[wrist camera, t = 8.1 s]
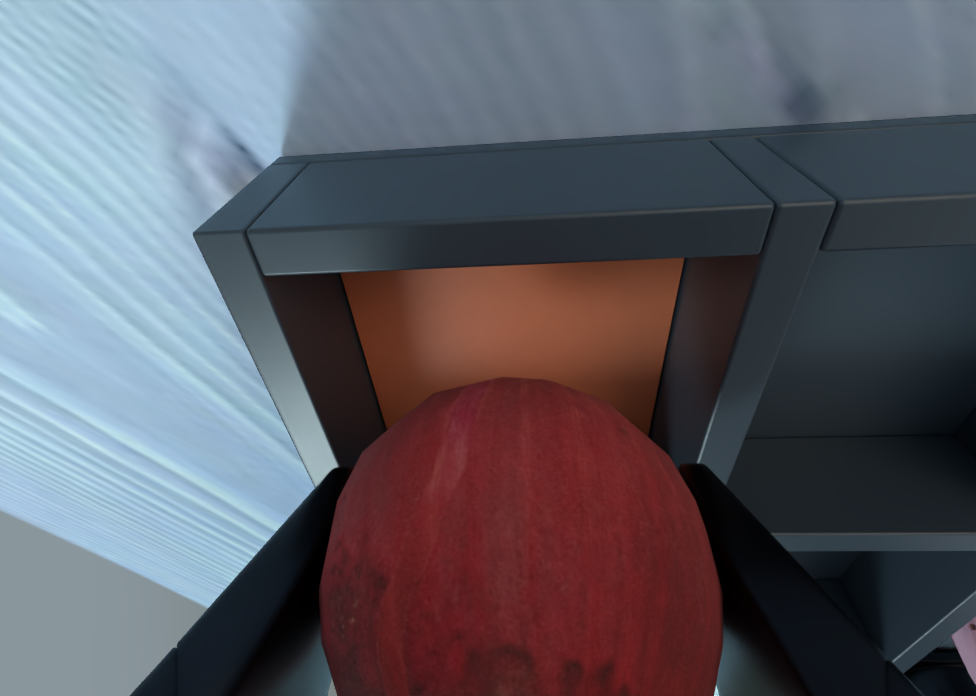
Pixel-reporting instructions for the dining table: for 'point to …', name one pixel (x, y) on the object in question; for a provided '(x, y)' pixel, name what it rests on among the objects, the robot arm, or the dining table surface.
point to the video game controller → (967, 646)
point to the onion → (519, 555)
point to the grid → (659, 320)
